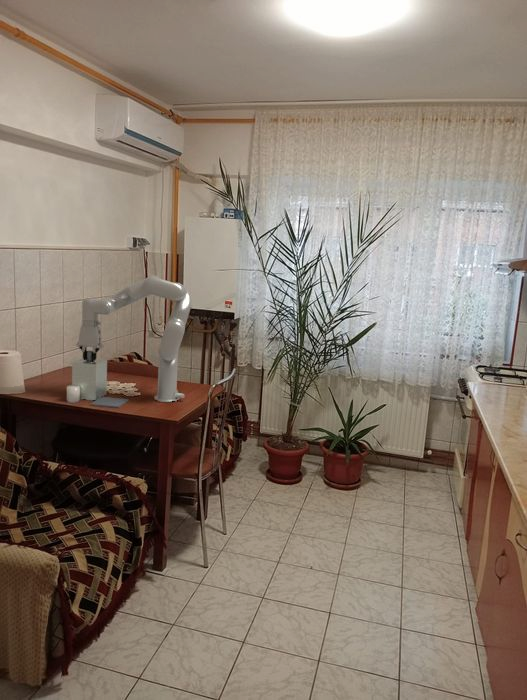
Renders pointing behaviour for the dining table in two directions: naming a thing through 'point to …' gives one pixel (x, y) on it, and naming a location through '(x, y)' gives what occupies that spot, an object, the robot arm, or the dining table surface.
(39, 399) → the dining table surface
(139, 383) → the dining table surface
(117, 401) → the mat
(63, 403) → the dining table surface
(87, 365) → the beige box
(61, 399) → the dining table surface
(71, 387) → the white round cylinder
